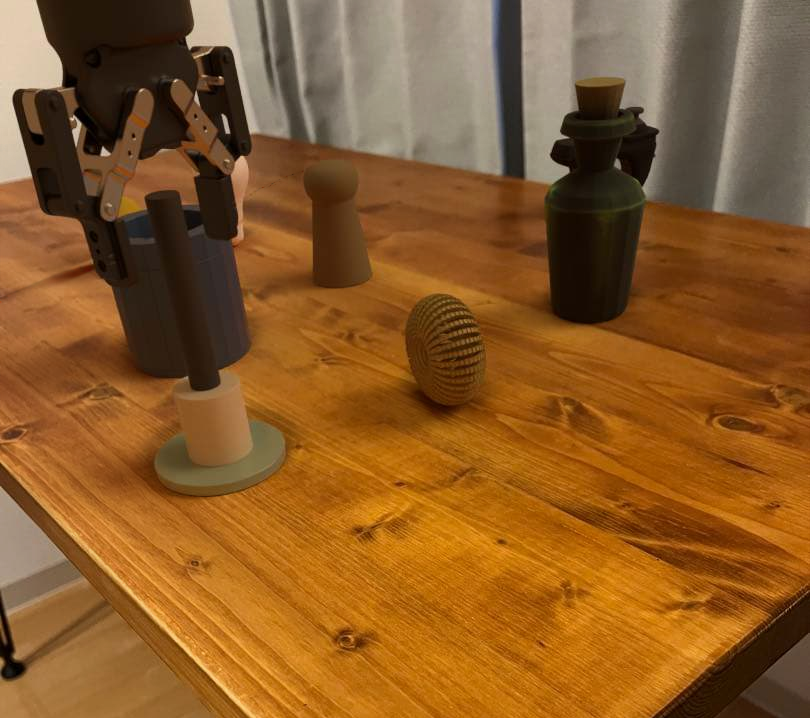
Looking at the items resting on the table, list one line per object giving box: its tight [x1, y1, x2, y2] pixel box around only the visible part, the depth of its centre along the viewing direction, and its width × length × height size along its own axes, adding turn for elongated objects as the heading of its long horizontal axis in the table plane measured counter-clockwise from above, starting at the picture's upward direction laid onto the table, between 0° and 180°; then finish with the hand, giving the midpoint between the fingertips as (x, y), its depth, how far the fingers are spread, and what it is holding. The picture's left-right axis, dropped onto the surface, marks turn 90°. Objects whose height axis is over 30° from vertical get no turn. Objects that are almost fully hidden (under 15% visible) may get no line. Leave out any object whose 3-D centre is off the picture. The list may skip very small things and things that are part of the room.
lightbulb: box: [190, 156, 250, 247], centre depth 96 cm, size 6×6×11 cm
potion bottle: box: [543, 76, 647, 323], centre depth 72 cm, size 8×8×18 cm
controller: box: [549, 106, 660, 188], centre depth 97 cm, size 4×12×10 cm, turn 110°
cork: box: [302, 158, 373, 289], centre depth 85 cm, size 6×6×11 cm
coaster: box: [153, 418, 288, 497], centre depth 60 cm, size 9×9×1 cm
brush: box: [143, 189, 253, 467], centre depth 55 cm, size 4×4×17 cm
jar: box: [110, 203, 252, 378], centre depth 73 cm, size 10×10×11 cm
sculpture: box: [404, 292, 487, 407], centre depth 63 cm, size 8×4×8 cm, turn 24°
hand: (175, 260), depth 52 cm, fingers open, 8 cm apart
